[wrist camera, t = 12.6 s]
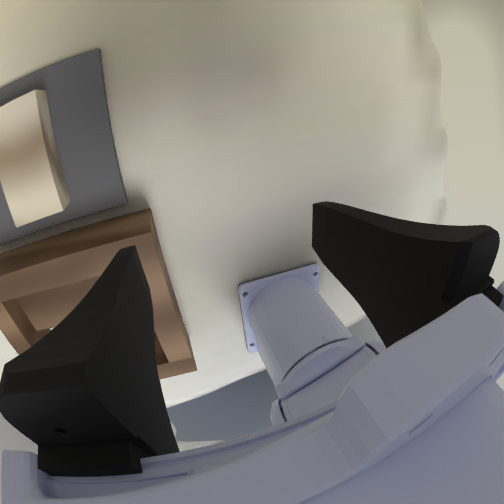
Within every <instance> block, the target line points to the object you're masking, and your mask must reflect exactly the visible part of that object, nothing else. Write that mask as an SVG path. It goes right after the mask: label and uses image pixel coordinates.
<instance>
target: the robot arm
mask: <svg viewBox="0 0 504 504" xmlns="http://www.w3.org/2000/svg"><path fill="white" fill-rule="evenodd" d="M499 239H500V237H499V233H498V232H497V231H496V230H495V229H493V228H492V227H490V226H486V225H478V226H477V225H474V226H449V225H436V224H427V223H419V222H413V221H407V220H402V219H397V218H392V217H388V216H384V215H380V214H377V213H373V212H369V211H365V210H362V209H358V208H355V207H351V206H347V205H343V204H339V203H334V202H326V201H325V202H320V203H315V204H313V223H312V247H313V249H314V250H315V252H316V253H317V255H318V257H319V258H320V259H321V261H322V262H323V264H324V265H325V266H326V267H327V268H328V269H329V270H330V272H331V273H332V274H333V275H334V276H335V277H336V278H337V279H338V280H339V282H340V283H341V284H342V285H343V286H344V287H345V288H346V289H347V290H348V291H349V293H350V294H351V295H352V296H353V297H354V298H355V300H356V301H357V302H358V303H359V305H360V306H361V308H362V309H363V310H364V312H365V313H366V315H367V316H368V318H369V319H370V321H371V323H372V324H373V326H374V327H375V329H376V331H377V332H378V334H379V336H380V337H381V339H382V341H380V340H375V339H369V340H368V341H367V342H366V343H364V342H363V341H362V339H361V338H360V337H359V336H358V335H357V334H355V335H354V336H352V334H351V333H350V332H349V331H348V329H347V328H346V327H345V326H344V324H343V323H342V322H341V321H340V319H339V318H338V317H337V316H336V314H335V313H334V312H333V311H332V310H331V308H330V307H329V306H328V305H327V303H326V302H325V301H324V300H323V298H322V297H321V296H320V295H319V294H318V291H319V277H320V266H319V265H318V264H316V263H315V264H311V265H308V266H304V267H301V268H297V269H294V270H290V271H287V272H283V273H280V274H276V275H273V276H269V277H265V278H262V279H258V280H255V281H251V282H247V283H244V284H241V285H240V286H239V288H238V291H239V298H240V304H241V311H242V318H243V324H244V331H245V337H246V344H247V350H248V352H249V353H255V352H259V354H260V356H261V358H262V361H263V363H264V365H265V367H266V369H267V371H268V373H269V375H270V377H271V379H272V381H273V383H274V385H275V390H276V392H277V394H278V396H279V398H280V399H278V400H276V401H274V402H273V403H272V410H271V420H272V424H273V427H270V428H267V429H264V430H261V431H258V432H255V433H252V434H249V435H246V436H242V437H239V438H235V439H232V440H228V441H224V442H221V443H217V444H213V445H209V446H205V447H200V448H196V449H192V450H187V451H182V452H180V451H179V449H178V446H177V443H176V440H175V437H174V434H173V430H172V427H171V424H170V420H169V417H168V413H167V410H166V405H165V401H164V397H163V393H162V389H161V384H160V380H159V375H158V370H157V363H156V353H155V336H154V313H153V304H152V298H151V292H150V287H149V284H148V281H147V279H146V276H145V273H144V270H143V267H142V264H141V261H140V258H139V255H138V252H137V249H136V245H133V246H129V247H126V248H122V249H120V250H119V251H118V252H117V253H116V255H115V256H114V258H113V259H112V261H111V262H110V263H109V265H108V266H107V268H106V269H105V270H104V272H103V273H102V275H101V276H100V278H99V279H98V280H97V281H96V283H95V284H94V285H93V287H92V288H91V289H90V291H89V292H88V293H87V294H86V296H85V297H84V298H83V299H82V300H81V301H80V303H79V304H78V305H77V306H76V307H75V308H74V309H73V310H72V311H71V312H70V313H69V314H68V315H67V316H66V317H65V318H64V319H63V320H62V321H61V322H60V323H59V324H58V325H57V326H56V327H55V328H54V329H53V330H51V331H50V332H49V333H48V334H47V335H45V336H44V337H43V338H42V339H41V340H39V341H38V342H37V343H35V344H34V345H33V346H31V347H30V348H29V349H27V350H26V351H24V352H23V353H21V354H20V355H18V356H17V357H15V358H14V359H12V360H11V361H9V362H8V363H6V364H5V365H4V369H3V373H2V377H1V381H0V412H1V414H2V415H3V417H4V418H5V419H6V420H7V421H8V422H9V423H10V424H11V425H12V426H14V427H15V428H16V429H18V430H19V431H20V432H21V433H23V434H24V435H25V436H26V437H28V438H29V439H31V440H32V441H33V442H35V443H36V444H37V445H38V455H37V454H35V453H32V452H28V451H17V450H3V454H2V504H504V391H503V390H502V389H501V388H500V387H499V385H498V384H497V383H496V380H497V379H498V378H499V377H500V376H501V375H502V373H503V372H504V281H503V282H502V283H501V284H500V285H499V287H498V288H497V289H495V288H494V287H493V286H492V284H493V283H494V279H493V278H491V277H490V276H489V274H490V271H491V268H492V266H493V264H494V261H495V258H496V255H497V252H498V248H499V243H500V240H499ZM314 272H315V274H314ZM245 292H247V293H246V294H243V293H245Z"/></svg>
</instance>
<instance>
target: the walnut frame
mask: <svg viewBox="0 0 504 504" xmlns="http://www.w3.org/2000/svg"><path fill="white" fill-rule="evenodd" d="M133 245H136V249H137V252H138V255H139V258H140V261H141V264H142V267H143V270H144V273H145V276H146V279H147V281H148V284H149V287H150V292H151V298H152V304H153V313H154V331H155V332H154V336H155V353H156V363H157V370H158V375H159V379H163V378H168V377H172V376H176V375H181V374H185V373H189V372H193V371H197V367H196V364H195V360H194V356H193V352H192V348H191V344H190V339H189V336H188V334H187V331H186V328H185V325H184V322H183V319H182V316H181V313H180V310H179V307H178V304H177V301H176V298H175V294H174V291H173V288H172V285H171V282H170V278H169V275H168V272H167V268H166V265H165V261H164V258H163V254H162V251H161V247H160V243H159V240H158V236H157V232H156V228H155V225H154V221H153V217H152V213H151V209H147V210H143V211H139V212H135V213H131V214H127V215H124V216H120V217H116V218H113V219H109V220H105V221H102V222H98V223H95V224H92V225H88V226H85V227H81V228H78V229H75V230H72V231H68V232H65V233H62V234H59V235H56V236H53V237H49V238H46V239H43V240H40V241H37V242H34V243H32V244H29V245H26V246H23V247H20V248H17V249H14V250H12V251H9V252H6V253H3V254H1V255H0V330H1V331H2V333H3V334H4V335H5V337H6V338H7V340H8V341H9V342H10V344H11V345H12V346H13V348H14V349H15V350H16V352H17V353H18V354H19V355H20V354H21V353H23V352H24V351H26V350H27V349H29V348H30V347H31V346H33V345H34V344H35V343H37V342H38V341H39V340H41V339H42V338H43V337H44V336H45V335H47V334H48V333H49V332H50V329H49V328H52V327H56V326H57V325H58V324H59V323H60V322H61V321H62V320H63V319H64V318H65V317H66V316H67V315H68V314H69V313H70V312H71V311H72V310H73V309H74V308H75V307H76V306H77V305H78V304H79V303H80V301H81V300H82V299H83V298H84V297H85V296H86V294H87V293H88V292H89V291H90V289H91V288H92V287H93V285H94V284H95V283H96V281H97V280H98V279H99V278H100V276H101V275H102V273H103V272H104V270H105V269H106V268H107V266H108V265H109V263H110V262H111V261H112V259H113V258H114V256H115V255H116V253H117V252H118V251H119V250H120V249H122V248H126V247H129V246H133Z"/></svg>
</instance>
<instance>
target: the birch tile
mask: <svg viewBox="0 0 504 504" xmlns="http://www.w3.org/2000/svg"><path fill="white" fill-rule="evenodd" d="M0 181H1V185H2V188H3V191H4V194H5V197H6V200H7V203H8V206H9V209H10V212H11V215H12V218H13V220H14V223H15V226H16V228H17V227H20V226H22V225H25V224H27V223H30V222H33V221H36V220H38V219H41V218H44V217H47V216H50V215H52V214H55V213H58V212H61V211H64V209H65V208H66V206H67V205H68V203H69V202H70V197H69V193H68V190H67V187H66V183H65V180H64V176H63V172H62V168H61V165H60V161H59V157H58V152H57V148H56V144H55V139H54V134H53V129H52V124H51V119H50V113H49V107H48V101H47V94H46V90H33V91H31V92H29V93H27V94H25V95H23V96H20V97H18V98H16V99H14V100H12V101H10V102H9V103H7V104H5V105H3V106H1V107H0Z"/></svg>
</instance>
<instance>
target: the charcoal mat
mask: <svg viewBox="0 0 504 504" xmlns="http://www.w3.org/2000/svg"><path fill="white" fill-rule="evenodd" d="M33 90H46V94H47V101H48V107H49V113H50V119H51V124H52V129H53V134H54V139H55V144H56V148H57V152H58V157H59V161H60V165H61V168H62V172H63V176H64V180H65V183H66V187H67V190H68V193H69V197H70V202H69V203H68V205H67V206H66V208H65V209H64V211H61V212H58V213H55V214H52V215H50V216H47V217H44V218H41V219H38V220H36V221H33V222H30V223H27V224H25V225H22V226H20V227H17V228H16V226H15V223H14V220H13V218H12V215H11V212H10V209H9V206H8V203H7V200H6V197H5V194H4V191H3V188H2V185H1V181H0V245H1V244H3V243H6V242H9V241H11V240H14V239H17V238H19V237H22V236H25V235H28V234H30V233H33V232H36V231H39V230H42V229H45V228H48V227H51V226H54V225H57V224H60V223H63V222H66V221H69V220H72V219H76V218H79V217H82V216H85V215H89V214H92V213H95V212H99V211H102V210H106V209H109V208H113V207H117V206H120V205H124V204H127V197H126V194H125V190H124V186H123V181H122V177H121V173H120V169H119V164H118V160H117V155H116V150H115V145H114V140H113V135H112V130H111V124H110V119H109V113H108V107H107V100H106V93H105V86H104V78H103V70H102V61H101V51H100V49H96V50H93V51H90V52H86V53H83V54H80V55H77V56H75V57H72V58H69V59H66V60H64V61H61V62H58V63H56V64H53V65H51V66H48V67H46V68H44V69H41V70H39V71H37V72H34V73H32V74H30V75H28V76H26V77H24V78H22V79H20V80H18V81H16V82H14V83H12V84H10V85H8V86H6V87H4V88H2V89H0V107H1V106H3V105H5V104H7V103H9V102H10V101H12V100H14V99H16V98H18V97H20V96H23V95H25V94H27V93H29V92H31V91H33Z"/></svg>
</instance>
